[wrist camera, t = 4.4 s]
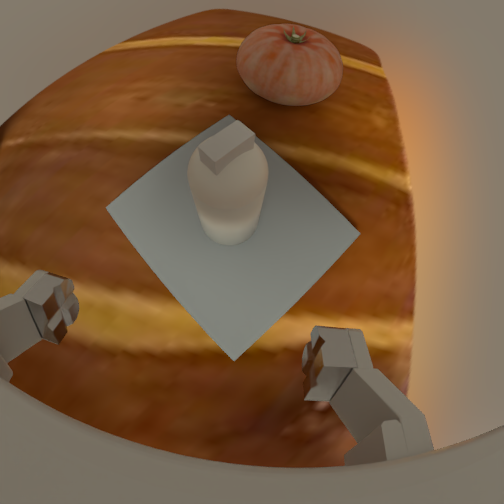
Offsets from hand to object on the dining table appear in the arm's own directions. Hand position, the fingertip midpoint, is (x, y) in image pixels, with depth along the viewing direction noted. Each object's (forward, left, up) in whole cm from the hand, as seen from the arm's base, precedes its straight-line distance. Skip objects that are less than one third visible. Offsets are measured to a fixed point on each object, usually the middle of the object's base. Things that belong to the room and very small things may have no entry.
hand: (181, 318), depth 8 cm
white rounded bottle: (-5, +6, -11) cm, 14 cm away
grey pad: (-5, +6, -12) cm, 15 cm away
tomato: (-13, +21, -13) cm, 28 cm away
